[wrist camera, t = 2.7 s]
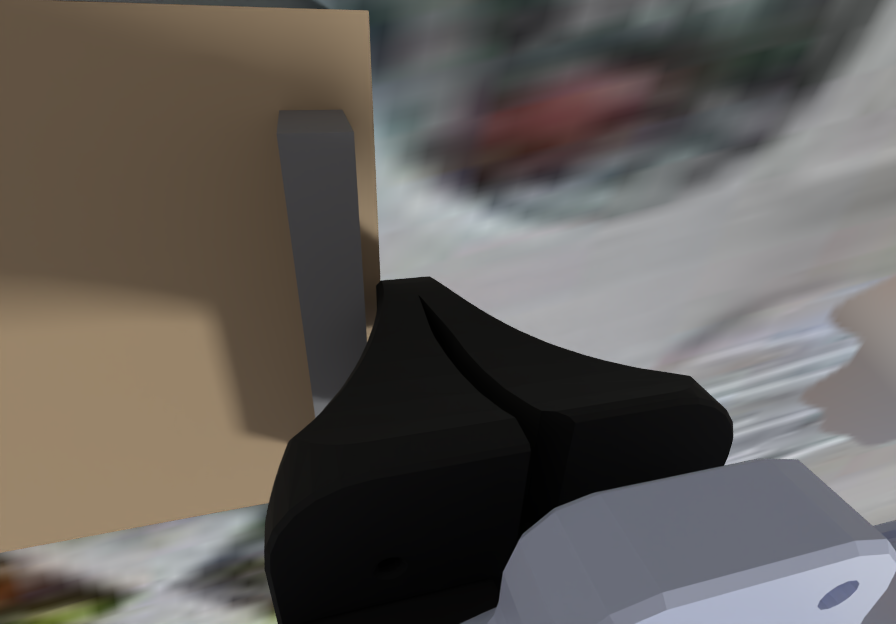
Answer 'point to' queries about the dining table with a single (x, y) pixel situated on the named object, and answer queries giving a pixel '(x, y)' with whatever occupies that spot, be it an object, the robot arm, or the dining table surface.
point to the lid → (174, 253)
